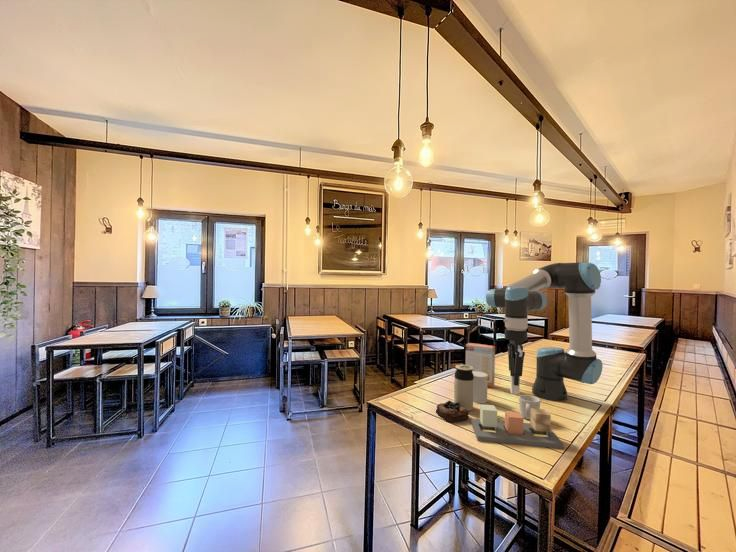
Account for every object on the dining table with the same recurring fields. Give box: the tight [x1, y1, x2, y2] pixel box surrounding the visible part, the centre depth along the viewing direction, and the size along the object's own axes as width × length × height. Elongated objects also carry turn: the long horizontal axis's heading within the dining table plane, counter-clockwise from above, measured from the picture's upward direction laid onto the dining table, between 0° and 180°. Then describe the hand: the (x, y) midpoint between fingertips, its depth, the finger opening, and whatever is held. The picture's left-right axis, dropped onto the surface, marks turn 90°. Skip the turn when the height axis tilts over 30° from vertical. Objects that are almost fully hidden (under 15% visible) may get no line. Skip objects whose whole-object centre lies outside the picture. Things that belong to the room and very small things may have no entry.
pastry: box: [435, 400, 470, 424], centre depth 133 cm, size 11×12×6 cm
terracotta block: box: [504, 410, 525, 435], centre depth 119 cm, size 5×5×6 cm
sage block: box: [479, 403, 498, 427], centre depth 120 cm, size 5×5×6 cm
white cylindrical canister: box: [472, 371, 488, 404], centre depth 151 cm, size 8×8×12 cm
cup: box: [518, 394, 542, 421], centre depth 132 cm, size 11×8×8 cm
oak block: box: [529, 408, 552, 432], centre depth 117 cm, size 5×5×6 cm
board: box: [470, 418, 564, 449], centre depth 119 cm, size 28×14×2 cm, turn 81°
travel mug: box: [453, 364, 474, 412], centre depth 142 cm, size 8×8×18 cm
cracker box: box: [465, 342, 496, 388], centre depth 173 cm, size 14×6×21 cm, turn 55°
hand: (514, 392), depth 119 cm, fingers closed
